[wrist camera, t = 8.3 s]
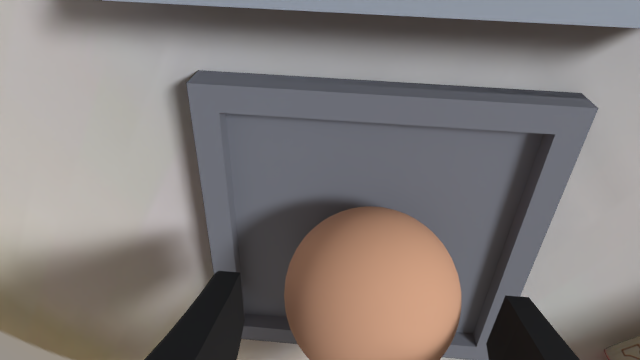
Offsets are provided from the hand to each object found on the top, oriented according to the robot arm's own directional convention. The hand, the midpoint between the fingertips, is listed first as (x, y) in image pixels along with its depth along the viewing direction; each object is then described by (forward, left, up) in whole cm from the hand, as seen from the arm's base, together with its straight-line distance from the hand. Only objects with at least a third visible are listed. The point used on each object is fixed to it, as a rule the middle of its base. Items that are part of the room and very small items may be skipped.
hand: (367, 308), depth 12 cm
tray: (0, 0, -4) cm, 4 cm away
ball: (0, 0, -3) cm, 3 cm away
